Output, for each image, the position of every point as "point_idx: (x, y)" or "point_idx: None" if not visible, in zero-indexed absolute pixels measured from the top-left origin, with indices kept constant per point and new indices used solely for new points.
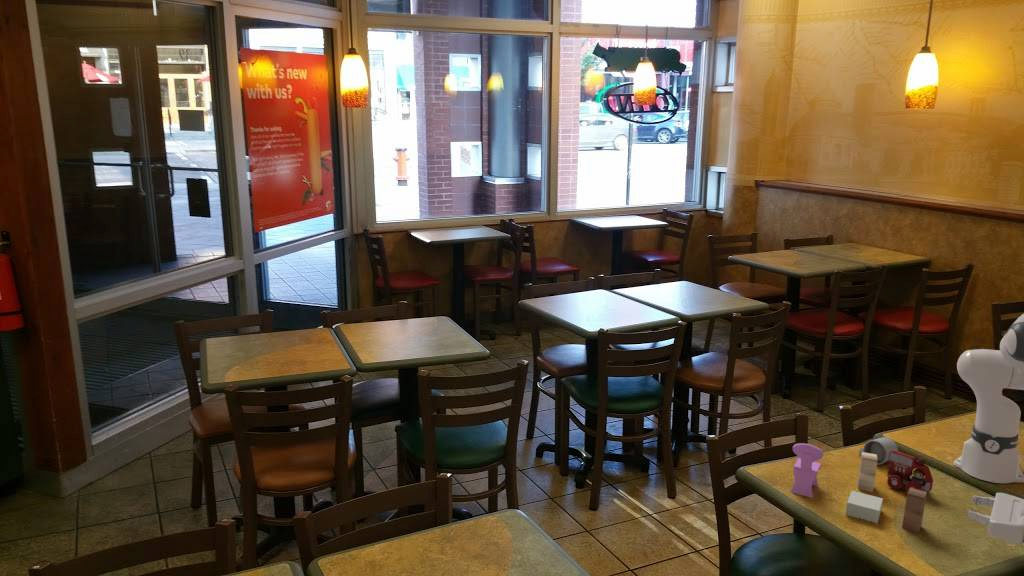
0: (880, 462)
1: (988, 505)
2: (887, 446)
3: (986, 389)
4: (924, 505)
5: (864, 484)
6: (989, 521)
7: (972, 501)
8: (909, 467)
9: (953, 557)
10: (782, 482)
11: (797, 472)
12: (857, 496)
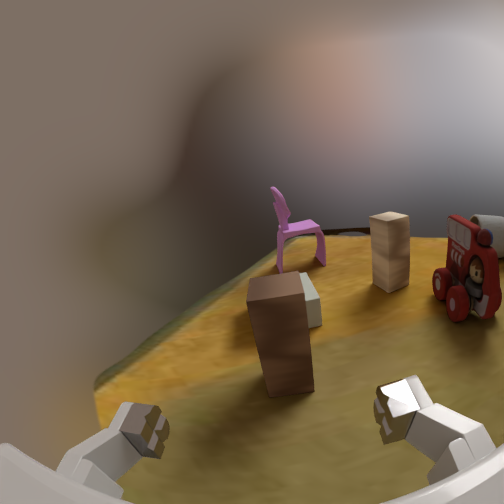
0: None
1: (431, 470)
2: (489, 225)
3: None
4: (302, 336)
5: (378, 275)
6: (9, 444)
7: (374, 402)
8: (467, 252)
9: (166, 478)
10: (297, 254)
11: (278, 234)
12: None
